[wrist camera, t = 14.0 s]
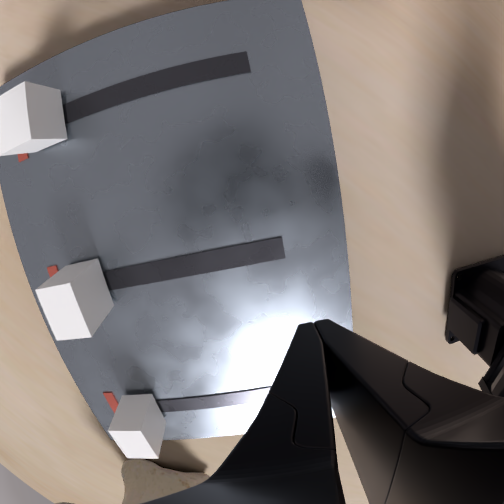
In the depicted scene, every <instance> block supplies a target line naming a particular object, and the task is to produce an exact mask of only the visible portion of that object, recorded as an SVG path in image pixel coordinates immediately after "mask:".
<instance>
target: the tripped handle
mask: <svg viewBox="0 0 504 504" xmlns="http://www.w3.org/2000/svg"><path fill="white" fill-rule="evenodd" d="M66 139H68V138H67V132H66V126H65V120H64V113H63V106H62V99H61V91H60V90H59V89H55V88H51V87H47V86H43V85H39V84H35V83H31V82H26V81H24V82H22V83H20V84H19V85H17V86H15V87H14V88H12V89H10V90H9V91H7V92H5V93H4V94H2V95H0V156H5V155H14V154H23V153H33V152H38V151H40V150H42V149H44V148H47V147H49V146H51V145H54V144H56V143H58V142H61V141H63V140H66Z"/></svg>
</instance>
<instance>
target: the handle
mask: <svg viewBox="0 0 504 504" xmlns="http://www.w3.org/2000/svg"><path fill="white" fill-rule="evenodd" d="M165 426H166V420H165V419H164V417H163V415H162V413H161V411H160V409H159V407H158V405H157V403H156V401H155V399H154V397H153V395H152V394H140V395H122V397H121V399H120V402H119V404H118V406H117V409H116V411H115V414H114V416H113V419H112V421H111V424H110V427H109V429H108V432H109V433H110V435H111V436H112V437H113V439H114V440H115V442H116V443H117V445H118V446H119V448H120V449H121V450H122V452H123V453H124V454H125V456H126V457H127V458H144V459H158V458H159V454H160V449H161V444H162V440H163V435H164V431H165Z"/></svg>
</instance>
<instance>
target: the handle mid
mask: <svg viewBox="0 0 504 504" xmlns="http://www.w3.org/2000/svg"><path fill="white" fill-rule="evenodd" d="M35 291H36V294H37V296H38V299H39V301H40V304H41V306H42V308H43V311H44V313H45V316H46V318H47V320H48V322H49V325H50V327H51V329H52V331H53V334H54V336H55V338H56V340H57V341H59V340H69V339H80V338H89V337H92V336H93V335H94V333H95V332H96V330H97V329H98V328H99V326H100V325H101V323H102V322H103V320H104V319H105V318H106V316H107V315H108V313H109V312H110V311H111V309H112V308H113V307H114V304H113V301H112V298H111V295H110V292H109V290H108V287H107V284H106V281H105V278H104V275H103V272H102V269H101V266H100V263H99V260H98V259H93V260H89V261H84V262H80V263H75V264H71V265H66V266H65V267H63V268H62V269H61V270H59V271H58V272H57V273H56V274H54V275H53V276H52V277H50V278H49V279H48V280H47V281H45V282H44V283H43V284H42V285H40V286H39V287H38V288H37V289H36V290H35Z"/></svg>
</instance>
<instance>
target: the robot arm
mask: <svg viewBox="0 0 504 504" xmlns="http://www.w3.org/2000/svg"><path fill="white" fill-rule="evenodd" d="M458 275H459V277H458V278H457V276H458ZM451 337H452V338H451ZM446 341H447V342H448V343H449V344H452V343H455V342H457V341H461V342H462V343H463V344H464V345H465V346H466V347H467V348H468V349H469V350H470V351H471V353H473V354H474V355H475V354H478V355H479V356H480V357H481V358H482V359H483V360H484V361H485V362H486V363H487V364H488V365H489V366H490V368H489V369H488V371H487V373H486V374H485V376H484V377H482V378H481V380H480V382H479V383H478V384H479V386H480V388H481V390H482V391H480V390H477V389H474V388H471V387H468V386H466V385H463V384H460V383H457V382H455V381H452V380H449V379H447V378H444V377H442V376H439V375H437V374H435V373H432V372H430V371H428V370H426V369H424V368H422V367H420V366H418V365H416V364H414V363H412V362H408V360H406V359H404V358H402V357H400V356H398V355H396V354H394V353H392V352H390V351H388V350H387V349H385V348H383V347H381V346H379V345H377V344H375V343H373V342H371V341H369V340H367V339H366V338H364V337H362V336H360V335H358V334H356V333H354V332H352V331H350V330H348V329H347V328H345V327H343V326H341V325H339V324H337V323H335V322H333V321H332V320H330V319H323V320H318V321H315V322H314V323H313V322H307V323H302V324H299V325H298V327H297V329H296V331H295V334H294V336H293V338H292V341H291V343H290V345H289V348H288V350H287V352H286V355H285V357H284V359H283V361H282V364H281V366H280V368H279V370H278V373H277V375H276V377H275V379H274V381H273V383H272V386H271V388H270V390H269V392H268V394H267V396H266V398H265V400H264V403H263V405H262V406H261V408H260V410H259V412H258V414H257V416H256V418H255V419H254V421H253V422H252V424H251V425H250V427H249V428H248V430H247V431H246V432H245V434H244V435H243V437H242V438H241V439H240V441H239V442H238V443H237V445H236V446H235V447H234V449H233V450H232V451H231V453H230V454H229V455H228V457H227V458H226V459H225V461H224V462H223V463H222V465H221V466H220V467H219V468H218V470H217V471H216V472H215V473H214V474H213V475H212V476H211V477H209V478H208V479H207V480H205V481H204V482H202V483H200V484H198V485H196V486H193V487H190V488H187V489H185V490H182V491H179V492H176V493H173V494H170V495H167V496H164V497H160V498H157V499H154V500H150V501H147V502H144V503H140V504H346V503H345V498H344V494H343V489H342V485H341V480H340V476H339V471H338V463H337V454H336V443H335V433H334V424H333V415H332V409H333V411H334V414H335V416H336V419H337V422H338V424H339V427H340V429H341V432H342V434H343V437H344V439H345V442H346V444H347V447H348V449H349V452H350V455H351V457H352V460H353V462H354V465H355V467H356V470H357V472H358V475H359V478H360V480H361V483H362V485H363V488H364V491H365V493H366V496H367V498H368V501H369V504H504V255H502V256H499V257H496V258H493V259H489V260H486V261H483V262H479V263H476V264H473V265H469V266H466V267H462V268H459V269H456V270H455V271H454V272H453V274H452V280H451V294H450V301H449V312H448V321H447V331H446ZM56 504H73V503H65V502H61V503H56Z"/></svg>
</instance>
